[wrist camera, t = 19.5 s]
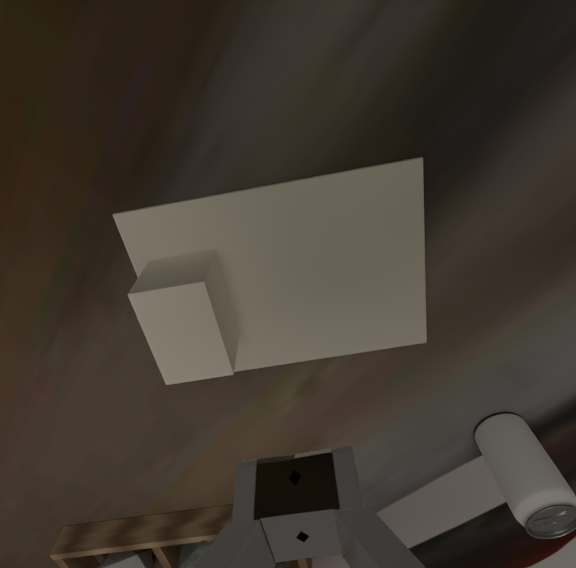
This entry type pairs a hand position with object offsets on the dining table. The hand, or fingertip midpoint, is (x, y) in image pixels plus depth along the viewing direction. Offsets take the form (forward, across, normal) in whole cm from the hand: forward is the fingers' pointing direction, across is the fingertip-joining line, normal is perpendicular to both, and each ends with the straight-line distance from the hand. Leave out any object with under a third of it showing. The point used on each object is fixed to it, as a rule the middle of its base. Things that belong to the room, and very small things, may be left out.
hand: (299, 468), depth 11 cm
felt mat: (+29, +2, +10) cm, 31 cm away
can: (+29, -21, +36) cm, 51 cm away
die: (+29, +34, +52) cm, 68 cm away
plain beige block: (+22, +11, +10) cm, 27 cm away
